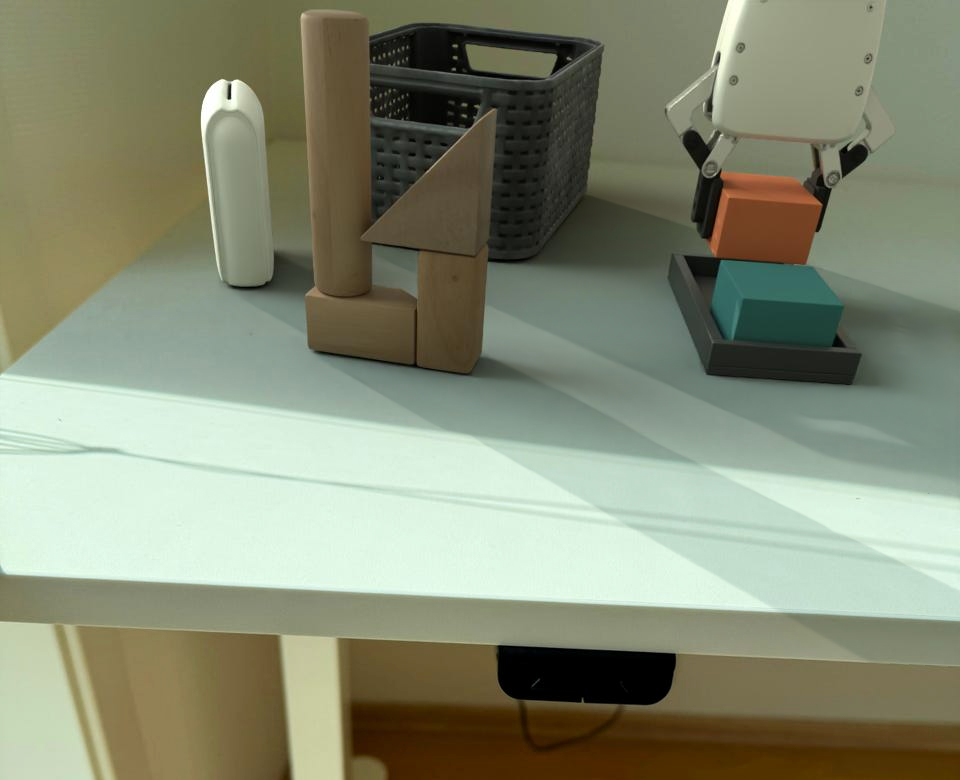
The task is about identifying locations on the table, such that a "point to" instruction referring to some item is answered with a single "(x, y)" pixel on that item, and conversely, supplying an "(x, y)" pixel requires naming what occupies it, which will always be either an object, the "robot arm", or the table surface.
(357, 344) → the wooden block
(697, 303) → the frame
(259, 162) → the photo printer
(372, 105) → the storage bin
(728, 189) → the orange block
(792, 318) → the teal block
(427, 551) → the table surface
